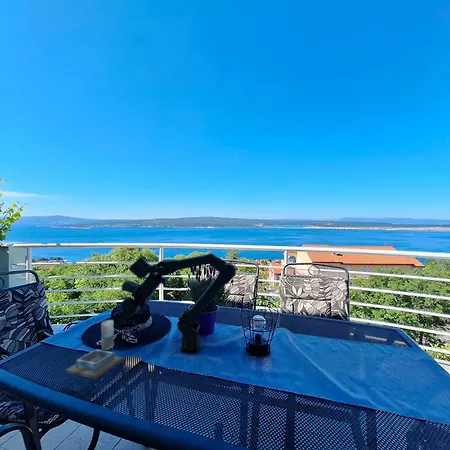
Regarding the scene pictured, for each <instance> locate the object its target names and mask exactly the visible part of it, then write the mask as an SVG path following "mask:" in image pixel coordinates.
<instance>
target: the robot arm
mask: <svg viewBox="0 0 450 450" xmlns="http://www.w3.org/2000/svg"><path fill="white" fill-rule="evenodd" d="M205 265H209V266H211V267H212V268H213V269H215V270H216V271H217V272H218V274H217V275H216V277H215V279H214V280H213V281H212V283H211V284H210V285H209V287H208V288H207V289H206V290H205V291H204V293H203V294H202V295H200V297H199V298H198V300H197V301H196V302H195V304H194V305H193V306H192V307H190V308H189V306H186V307H185V309H184V311H183V312H182V313H181V314H180V315H179V317H178V318H177V320H178V321H177V324H176V326H177V327H176V328H177V329H178V332H180V333H181V335H182V337H181V341H180V342H181V343H180V344H181V349H180V352H181V353H185V354H187V353H188V354H192V355H196V354H198V352H199V351H200V350H201V349H202V348H203V346H202V345H201V333H200V332H199V329H200V327H201V325H200V323H198V321H197V319H198V318H199V315H200V314H201V313H202V312H203V310H204V309H206V307H207V306H208V304H209V303H210V302H211V301H212V299H214V297H215V296H216V295H217V293H218V292H219V291H220V290H221V289H222V288H223V287H224V286H225V285H226V284H228V283H230V281H231V280H233V279H234V278H235V276H236V274H237V269H236V266H235V265H234V263H232V262H227V261H225V260H224V259H222V258H220V257H219V256H217V255H215V254H214V253H212V252H209V253H207V254H202V255H198V256H191V257H187V258H182V259H177V258H176V259H175V258H173V259H172V258H171V259H170V258H169V259H167V258H166V259H163V260H161V261H159V262H157V263H154V264H152V265H151V263H149V262H148V261H147V260H145V258H144V257H143V256H141V257H139V258H138V259H137V260H136V261H134V263H132V264H131V265H130V266H129V268H128V271H130V272H131V273H132V274H133V275H135V277H136V278H138V279H140V280H141V279H144V281H142V282H141V284H139V283H138V282H135V281H131V280H130V279H128V280H125V281H124V282H123V283H122V284H121V291H123V292H127V293H130V296H129V297H126V298H125V299H123V300H122V302H121V303H120V306H121V307H122V311H121V312H120V315H119V318H118V321H119V322H120V323H121V321H122V320H124V319H126V318H128V317H130V316H132V315H134V314H135V313H136V312H137V311H138V310H139V309H140V310H141V308H142V307H144V306H145V305H146V304H148V303H149V302H150V300H152V295H153V294H154V293H155V291H157V289H158V287H159V286H160V285H163V286H166V285H167V284H168V277H166V276H167V275H170V274H174V273H176V272H177V271H180V270H184V269H189V268H196V267H200V266H205Z"/></svg>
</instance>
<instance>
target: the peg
mask: <svg viewBox="0 0 450 450" xmlns="http://www.w3.org/2000/svg"><path fill="white" fill-rule="evenodd" d="M100 331H101V332H100V333H101V335H100V337H101V340H100V341H101V350H102V351H110V350H112V349H113V346H114V347H115V341H114V340H115V339H114V338H115V337H114V332H115V329H114V319H106V320H102V321H101V323H100ZM111 348H112V349H111ZM109 349H110V350H109Z"/></svg>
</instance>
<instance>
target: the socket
mask: <svg viewBox="0 0 450 450" xmlns="http://www.w3.org/2000/svg"><path fill="white" fill-rule="evenodd" d="M124 359H125V358H124V357H122V356H117V355H115V352H113V351H109V350H102V349H94V350H92V351H90V352H88V353H86V354H85V355H83V356H80V357H79V358H77V359H75V364H72V365H71V366H69V367H68V368H66V369H65V373H66V374H70V375H74V376H77V377H82V378H88V379H91V380H94V381H95V380H97V379H98V378H100V377H102V376H103V375H105V374H106V373H107V372H109V371H110V370H112V369H113V368H116V366H118V365H119V364H120V363H123V362H124V361H125V360H124Z"/></svg>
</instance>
